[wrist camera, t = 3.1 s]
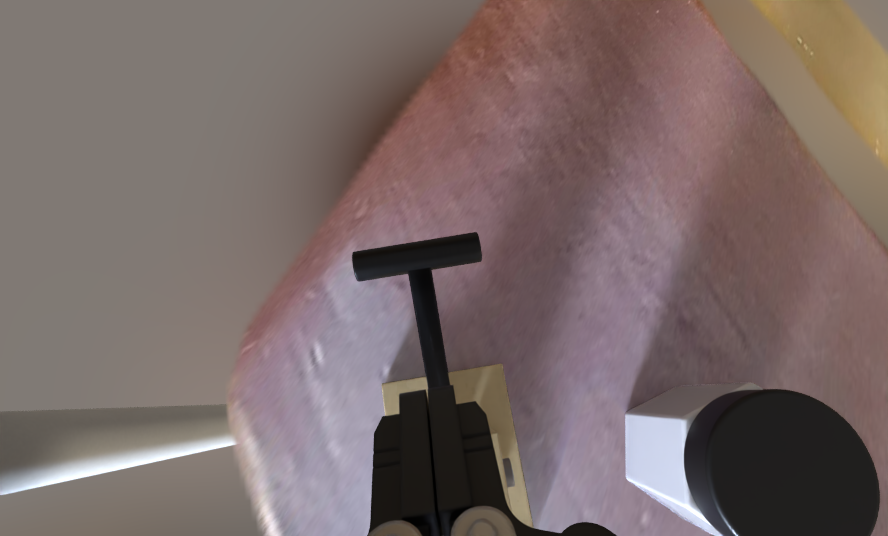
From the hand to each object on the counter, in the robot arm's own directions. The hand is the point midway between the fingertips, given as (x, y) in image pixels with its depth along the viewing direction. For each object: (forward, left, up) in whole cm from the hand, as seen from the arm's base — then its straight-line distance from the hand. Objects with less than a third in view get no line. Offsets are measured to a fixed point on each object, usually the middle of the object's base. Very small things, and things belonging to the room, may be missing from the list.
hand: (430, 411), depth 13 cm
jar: (+16, -6, -23) cm, 29 cm away
